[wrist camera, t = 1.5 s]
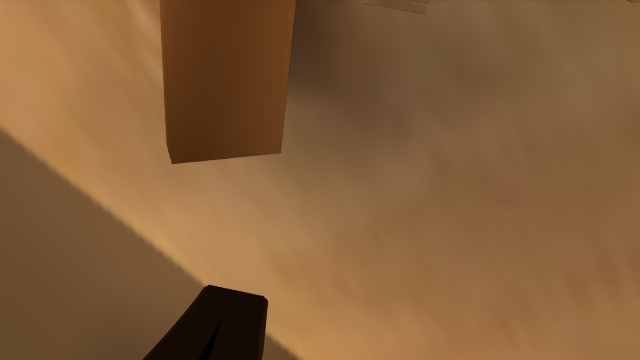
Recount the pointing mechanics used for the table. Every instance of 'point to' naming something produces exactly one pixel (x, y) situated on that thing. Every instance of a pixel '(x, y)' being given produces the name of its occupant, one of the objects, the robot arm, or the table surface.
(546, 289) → the table surface
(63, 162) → the table surface
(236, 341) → the robot arm
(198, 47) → the catapult lever
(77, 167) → the table surface
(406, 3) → the pivot bracket
